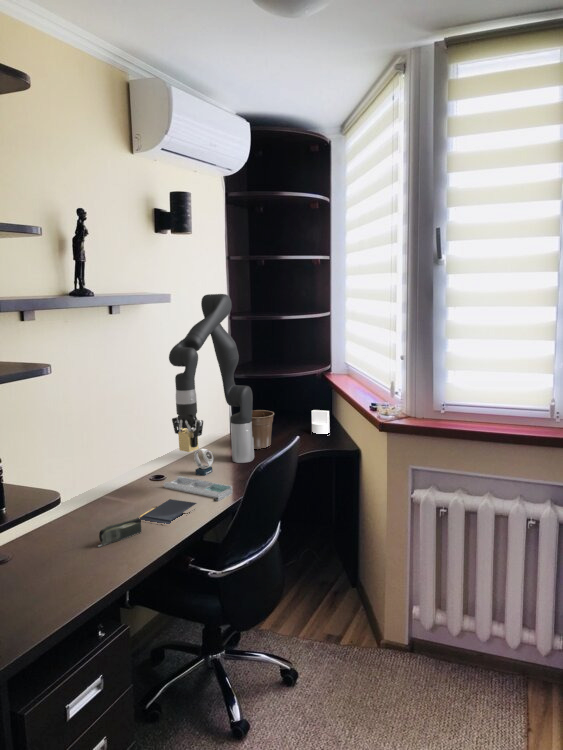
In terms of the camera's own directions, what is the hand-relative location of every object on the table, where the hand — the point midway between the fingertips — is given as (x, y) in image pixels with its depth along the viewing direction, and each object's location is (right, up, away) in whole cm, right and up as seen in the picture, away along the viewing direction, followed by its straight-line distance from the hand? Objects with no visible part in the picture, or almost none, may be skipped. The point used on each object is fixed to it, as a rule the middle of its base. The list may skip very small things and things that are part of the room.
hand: (188, 445), depth 215 cm
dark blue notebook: (-4, -21, -17) cm, 28 cm away
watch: (+3, -15, +20) cm, 25 cm away
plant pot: (+24, -8, +60) cm, 65 cm away
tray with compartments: (+3, -17, +1) cm, 18 cm away
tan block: (0, -1, 0) cm, 1 cm away
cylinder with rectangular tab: (+55, -4, +79) cm, 96 cm away
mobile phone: (-15, -24, -37) cm, 47 cm away
